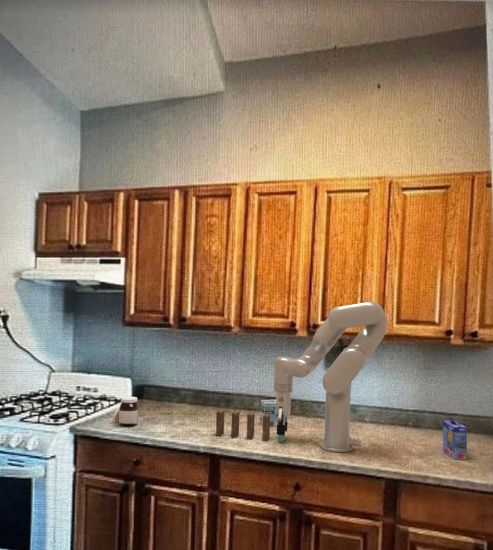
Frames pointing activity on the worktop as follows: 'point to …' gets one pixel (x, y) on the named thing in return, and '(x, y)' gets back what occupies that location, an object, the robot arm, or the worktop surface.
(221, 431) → the walnut domino
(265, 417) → the walnut domino
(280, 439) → the teal domino
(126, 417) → the spread jar
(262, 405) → the light bulb box
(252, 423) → the walnut domino
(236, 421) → the walnut domino
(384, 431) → the worktop surface
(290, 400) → the robot arm
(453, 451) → the ink cartridge box
